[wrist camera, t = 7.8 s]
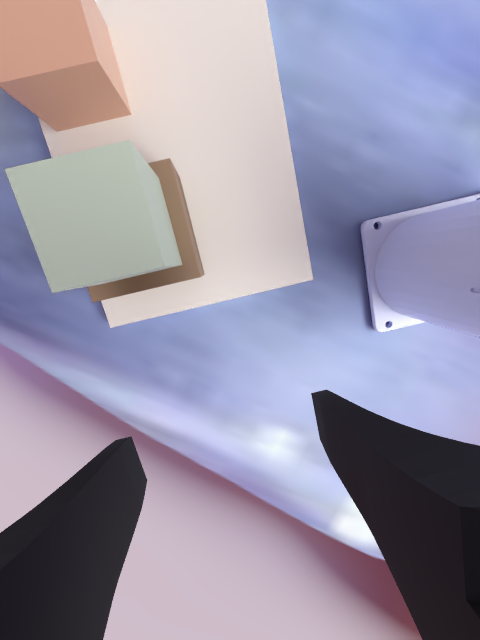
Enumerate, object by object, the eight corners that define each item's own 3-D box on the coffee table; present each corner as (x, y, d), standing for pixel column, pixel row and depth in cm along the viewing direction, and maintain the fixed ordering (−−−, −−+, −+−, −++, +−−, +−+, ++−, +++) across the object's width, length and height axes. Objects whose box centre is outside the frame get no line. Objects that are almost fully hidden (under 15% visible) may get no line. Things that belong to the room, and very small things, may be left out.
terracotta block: (106, 24, 15) (59, -71, 11) (131, 114, 16) (97, 60, 12) (27, 43, 15) (-52, -46, 11) (57, 131, 16) (-4, 83, 12)
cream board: (254, -33, 16) (256, -52, 15) (308, 278, 20) (313, 279, 19) (13, 22, 16) (-1, 6, 15) (116, 324, 19) (110, 327, 18)
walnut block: (179, 177, 17) (169, 157, 14) (204, 274, 18) (200, 277, 15) (83, 199, 17) (51, 185, 14) (115, 295, 18) (92, 302, 15)
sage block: (182, 264, 15) (165, 266, 10) (102, 283, 15) (52, 293, 10) (158, 177, 14) (129, 140, 10) (73, 197, 14) (4, 169, 9)
